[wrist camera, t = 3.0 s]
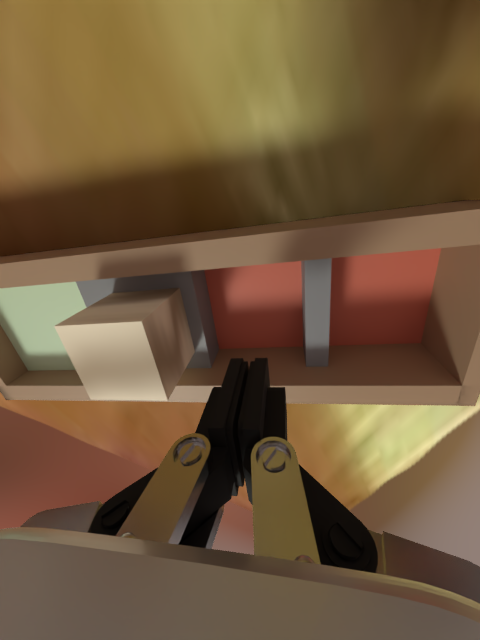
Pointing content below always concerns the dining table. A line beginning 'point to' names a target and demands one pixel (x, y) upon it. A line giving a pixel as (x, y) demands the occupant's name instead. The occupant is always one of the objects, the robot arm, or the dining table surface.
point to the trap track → (276, 306)
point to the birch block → (130, 345)
